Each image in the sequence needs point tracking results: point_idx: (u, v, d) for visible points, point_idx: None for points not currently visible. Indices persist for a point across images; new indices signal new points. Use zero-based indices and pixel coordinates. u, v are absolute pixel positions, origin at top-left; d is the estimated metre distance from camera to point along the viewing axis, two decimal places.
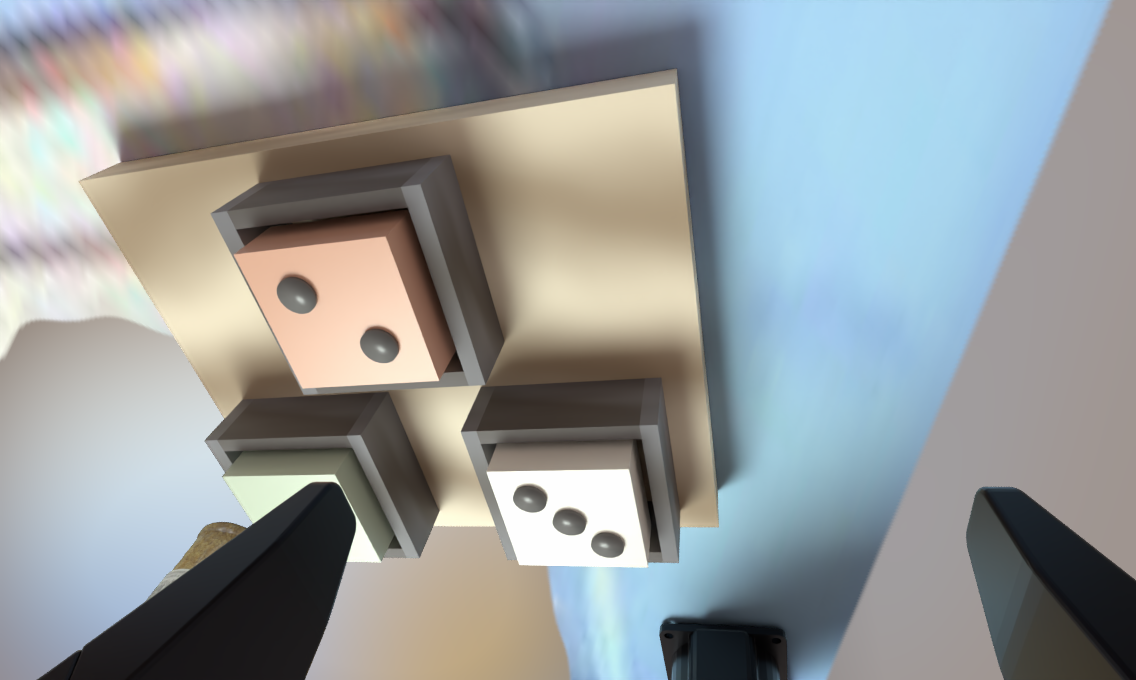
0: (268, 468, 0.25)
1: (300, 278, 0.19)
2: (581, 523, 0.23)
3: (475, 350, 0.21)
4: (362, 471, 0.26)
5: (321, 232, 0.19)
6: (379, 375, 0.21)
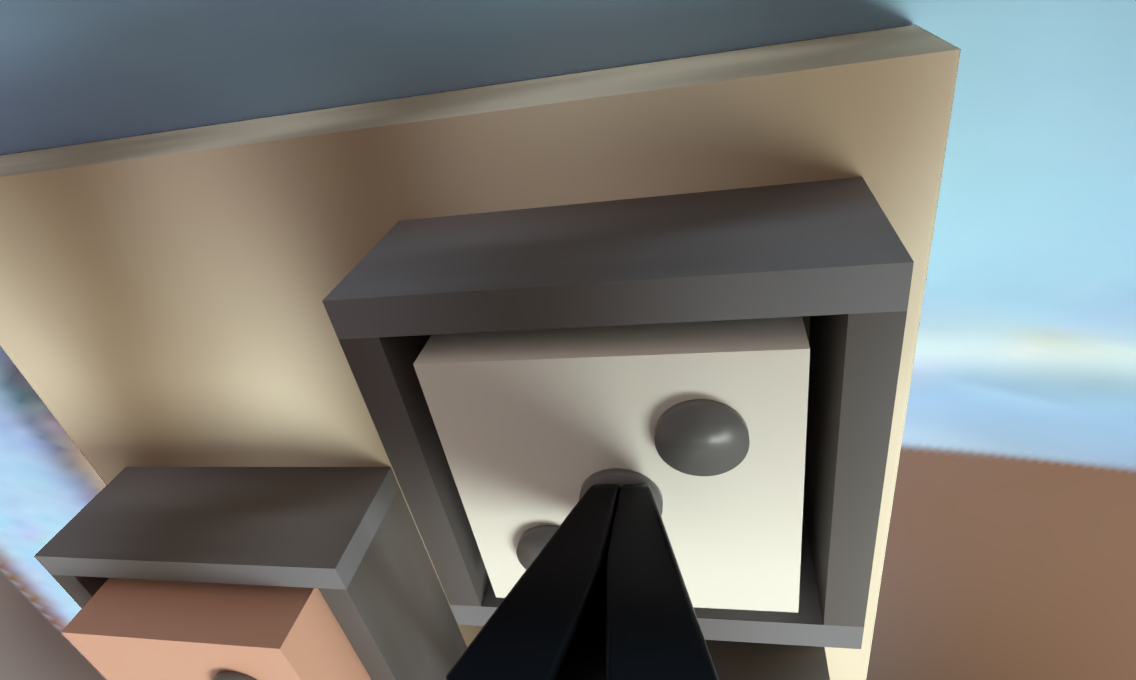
0: None
1: None
2: (612, 482, 0.09)
3: (273, 562, 0.12)
4: None
5: None
6: None
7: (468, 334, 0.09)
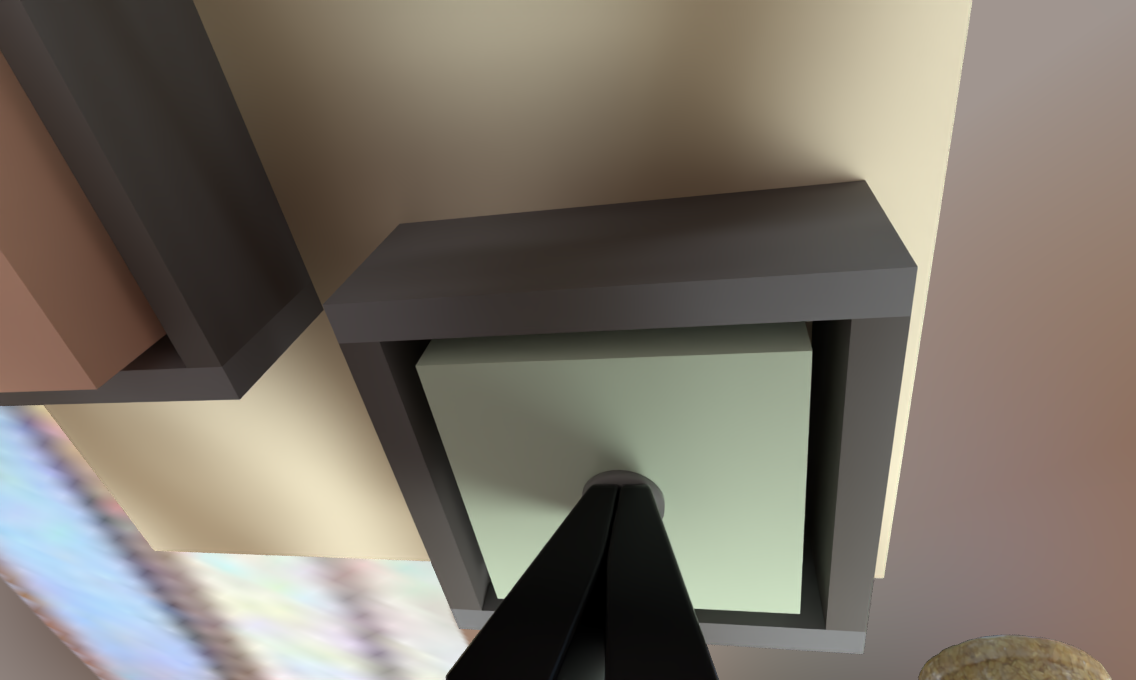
0: None
1: None
2: None
3: None
4: None
5: None
6: None
7: None
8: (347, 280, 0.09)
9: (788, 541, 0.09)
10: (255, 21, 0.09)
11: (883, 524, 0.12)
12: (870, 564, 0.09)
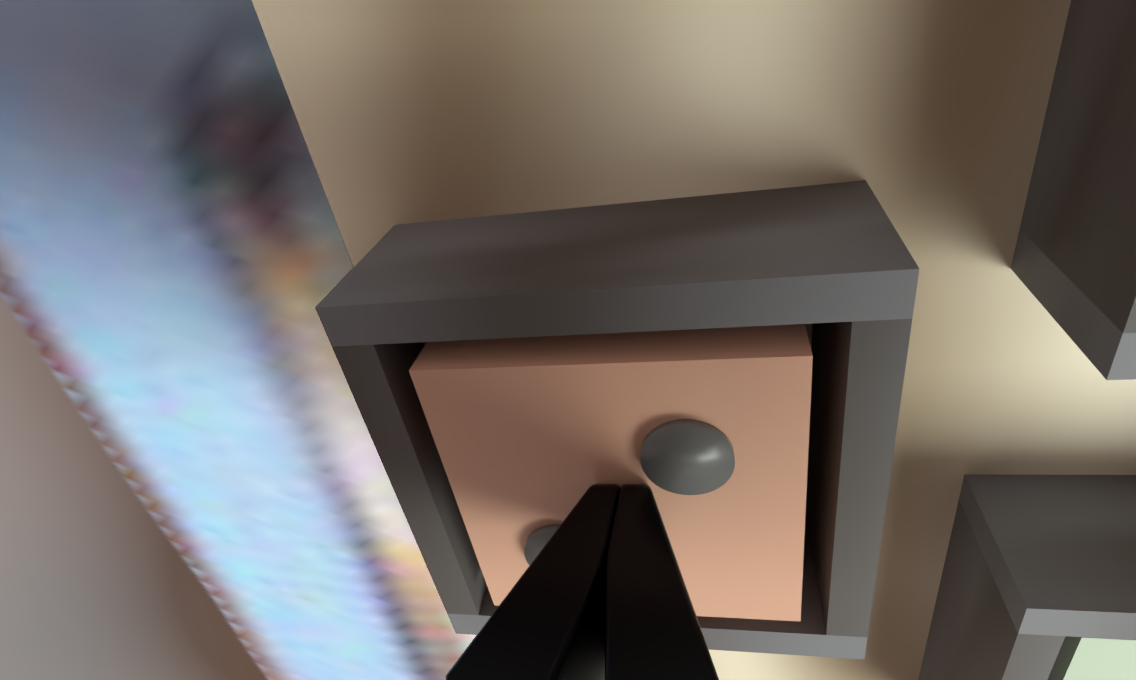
0: None
1: (531, 535, 0.10)
2: None
3: (780, 273, 0.07)
4: None
5: None
6: (779, 480, 0.08)
7: None
8: (1011, 569, 0.10)
9: None
10: (912, 323, 0.10)
11: None
12: None
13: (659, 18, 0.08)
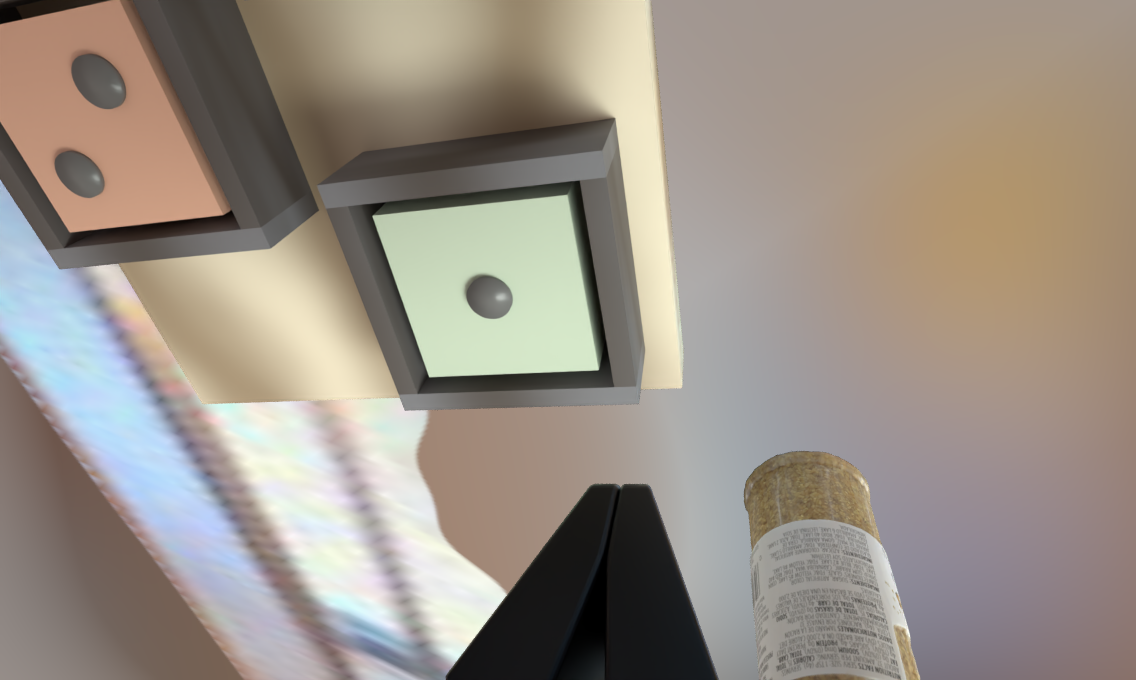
0: None
1: (62, 164, 0.17)
2: None
3: None
4: None
5: None
6: (152, 95, 0.15)
7: None
8: (330, 175, 0.16)
9: (581, 317, 0.17)
10: (279, 33, 0.16)
11: (673, 346, 0.19)
12: (625, 335, 0.16)
13: None
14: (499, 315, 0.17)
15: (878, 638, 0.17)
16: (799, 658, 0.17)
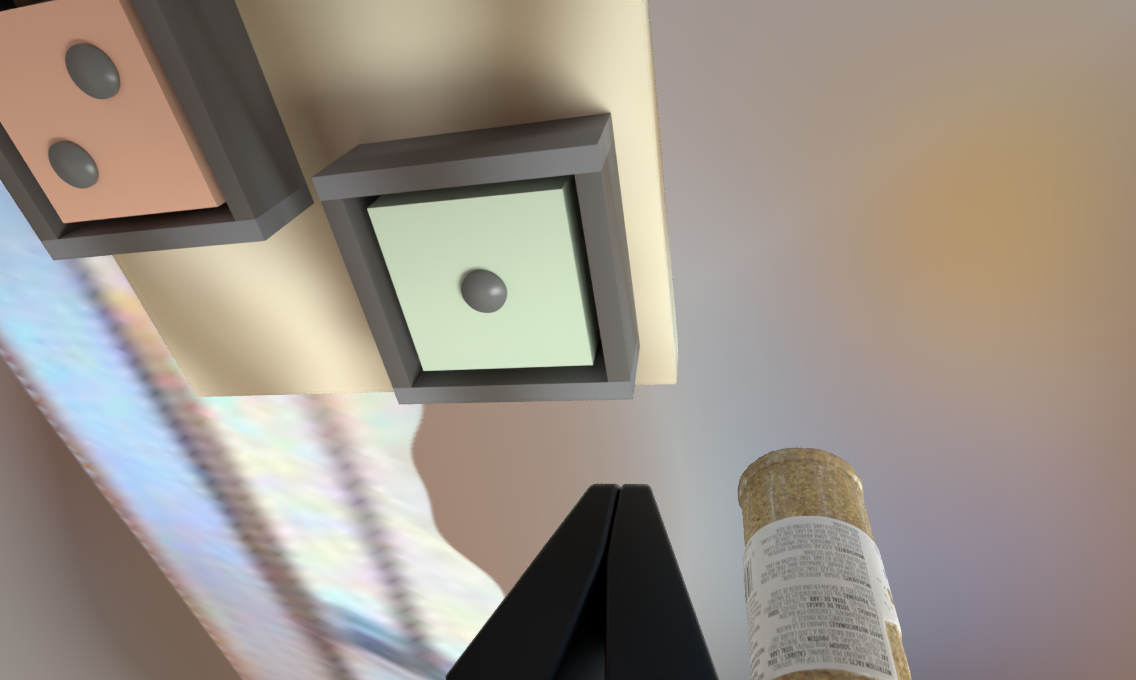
0: None
1: (57, 155, 0.17)
2: None
3: None
4: None
5: None
6: (146, 86, 0.15)
7: None
8: (325, 168, 0.16)
9: (575, 312, 0.17)
10: (274, 25, 0.16)
11: (667, 341, 0.19)
12: (620, 330, 0.16)
13: None
14: (493, 309, 0.17)
15: (870, 634, 0.17)
16: (790, 653, 0.17)
